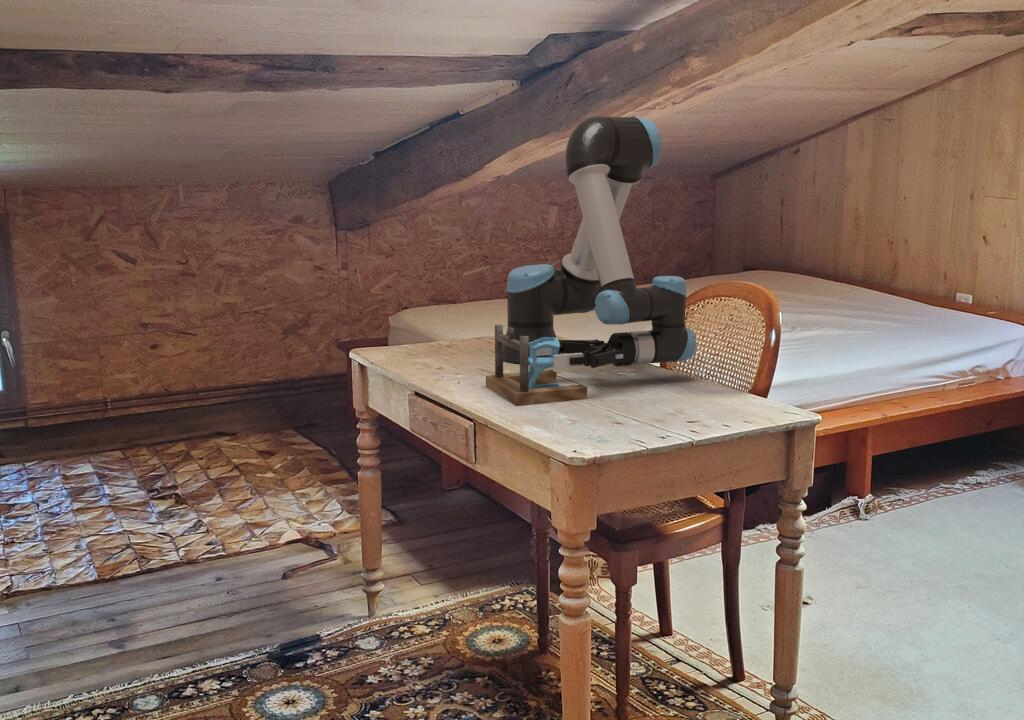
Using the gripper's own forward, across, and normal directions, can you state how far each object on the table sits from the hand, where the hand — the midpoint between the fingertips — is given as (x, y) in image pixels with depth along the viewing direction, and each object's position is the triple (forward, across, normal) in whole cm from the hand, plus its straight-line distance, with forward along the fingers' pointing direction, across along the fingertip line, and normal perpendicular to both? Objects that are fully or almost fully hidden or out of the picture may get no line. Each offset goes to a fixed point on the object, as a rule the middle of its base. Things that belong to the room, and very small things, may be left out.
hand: (541, 355), depth 215 cm
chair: (-1, 0, -8) cm, 8 cm away
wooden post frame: (+2, 0, -8) cm, 8 cm away
